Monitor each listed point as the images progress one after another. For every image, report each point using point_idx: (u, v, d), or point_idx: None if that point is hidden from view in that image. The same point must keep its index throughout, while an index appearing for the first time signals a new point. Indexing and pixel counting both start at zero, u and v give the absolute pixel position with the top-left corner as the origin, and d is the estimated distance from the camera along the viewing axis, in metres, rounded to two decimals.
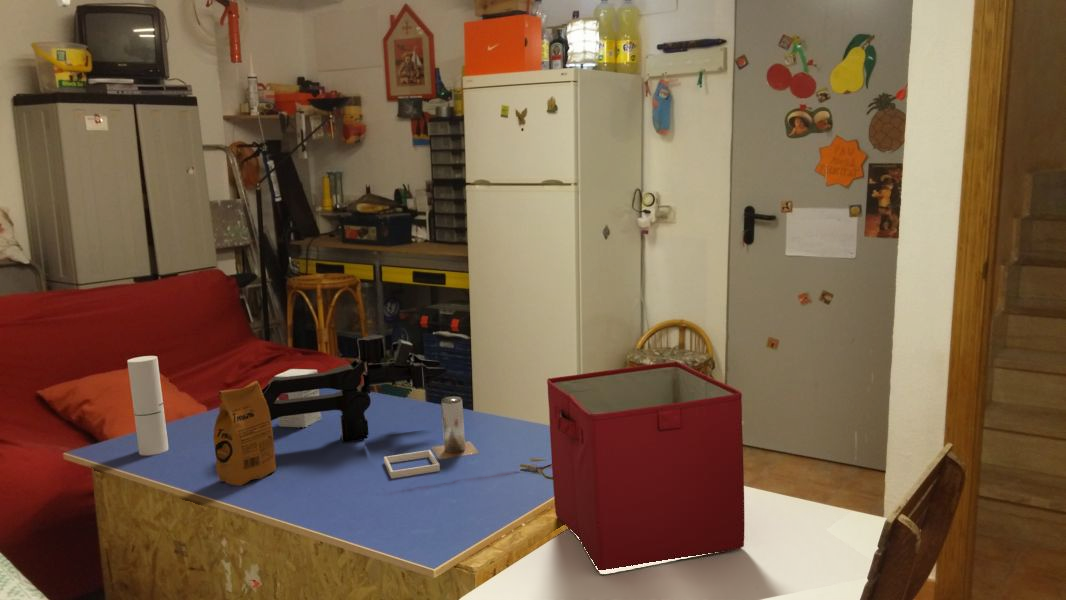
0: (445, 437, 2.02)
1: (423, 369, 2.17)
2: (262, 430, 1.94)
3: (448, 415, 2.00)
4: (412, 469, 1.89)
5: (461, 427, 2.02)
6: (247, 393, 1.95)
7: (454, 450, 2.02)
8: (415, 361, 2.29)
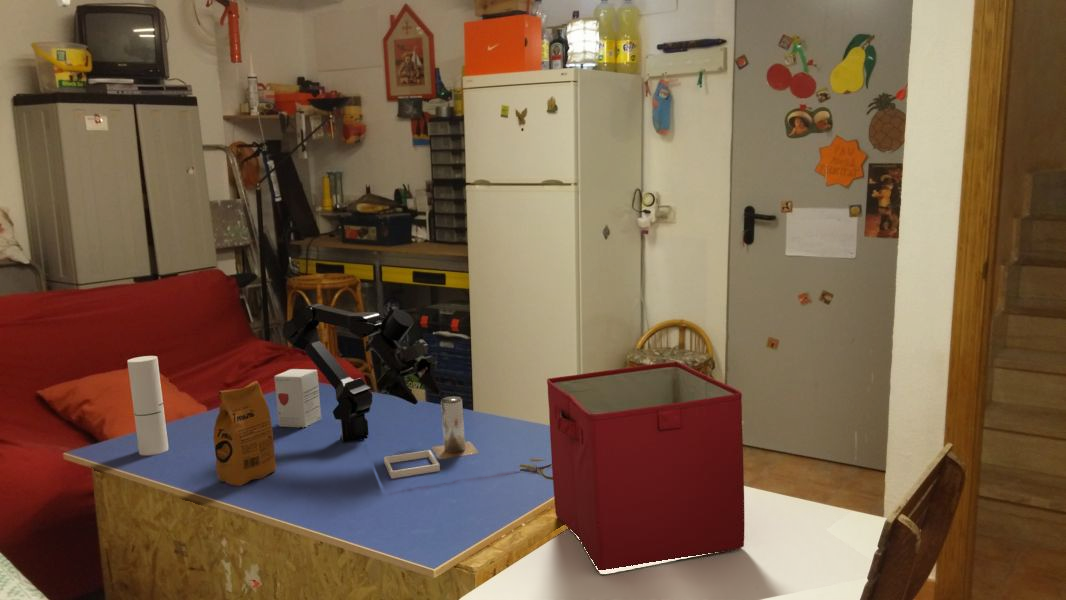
0: (445, 437, 2.02)
1: (394, 381, 2.00)
2: (262, 430, 1.94)
3: (448, 415, 2.00)
4: (412, 469, 1.89)
5: (461, 426, 2.02)
6: (247, 393, 1.95)
7: (454, 450, 2.02)
8: (426, 371, 2.12)
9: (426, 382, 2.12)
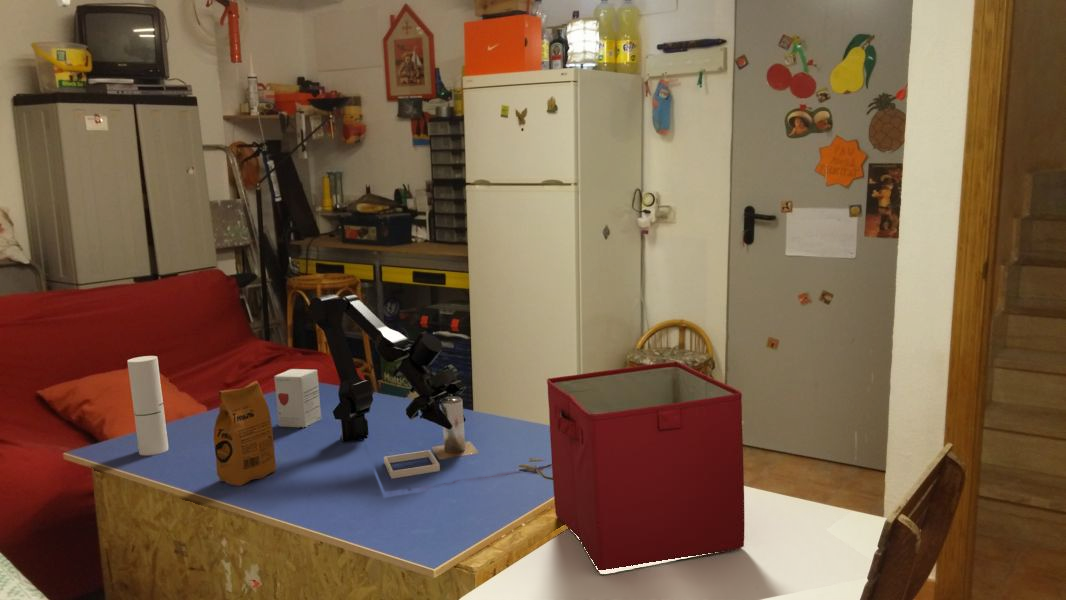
0: (445, 437, 2.02)
1: (428, 406, 1.98)
2: (262, 430, 1.94)
3: (449, 415, 2.00)
4: (412, 469, 1.89)
5: (461, 427, 2.02)
6: (247, 393, 1.95)
7: (454, 450, 2.02)
8: None
9: None
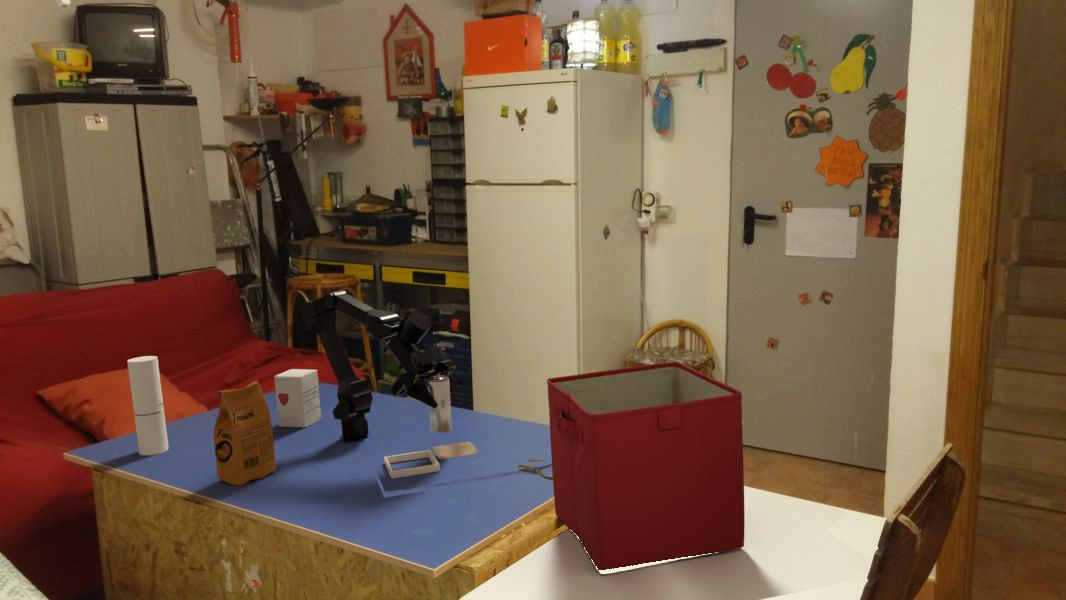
0: (431, 416, 2.00)
1: (413, 384, 1.97)
2: (262, 430, 1.94)
3: (434, 394, 1.99)
4: (412, 469, 1.89)
5: (447, 406, 2.00)
6: (247, 393, 1.95)
7: (439, 429, 2.00)
8: None
9: None
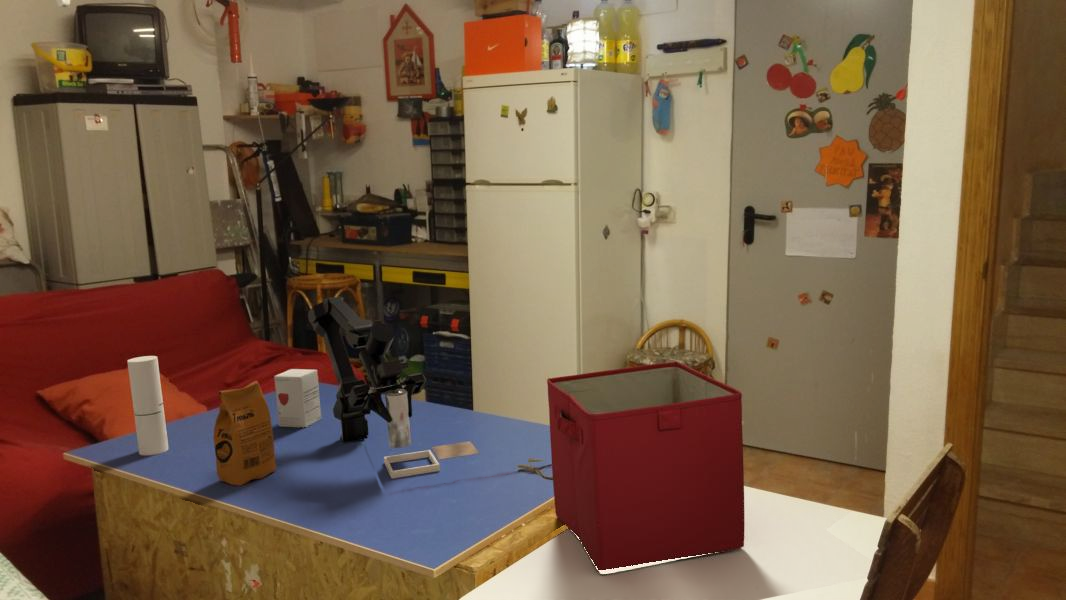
0: (388, 430, 1.97)
1: (368, 396, 1.94)
2: (262, 430, 1.94)
3: (388, 408, 1.94)
4: (412, 469, 1.89)
5: (402, 421, 1.95)
6: (247, 393, 1.95)
7: (394, 444, 1.95)
8: None
9: None
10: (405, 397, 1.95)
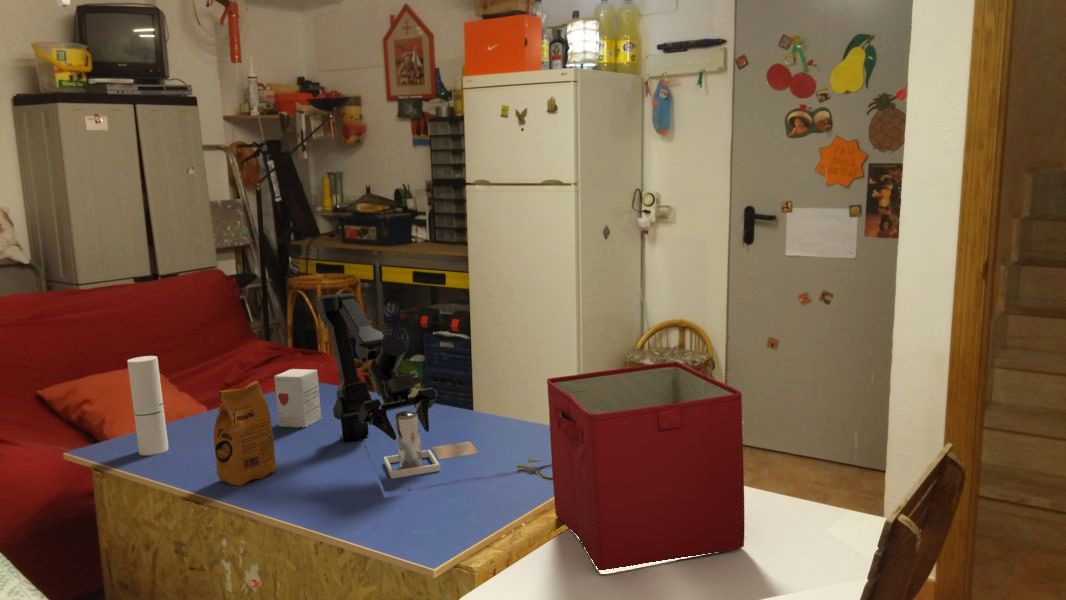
0: None
1: (373, 413, 1.90)
2: (262, 430, 1.94)
3: (399, 431, 1.90)
4: (412, 469, 1.89)
5: (413, 444, 1.91)
6: (247, 393, 1.95)
7: (405, 468, 1.92)
8: (420, 404, 1.97)
9: (419, 416, 1.97)
10: (416, 420, 1.91)
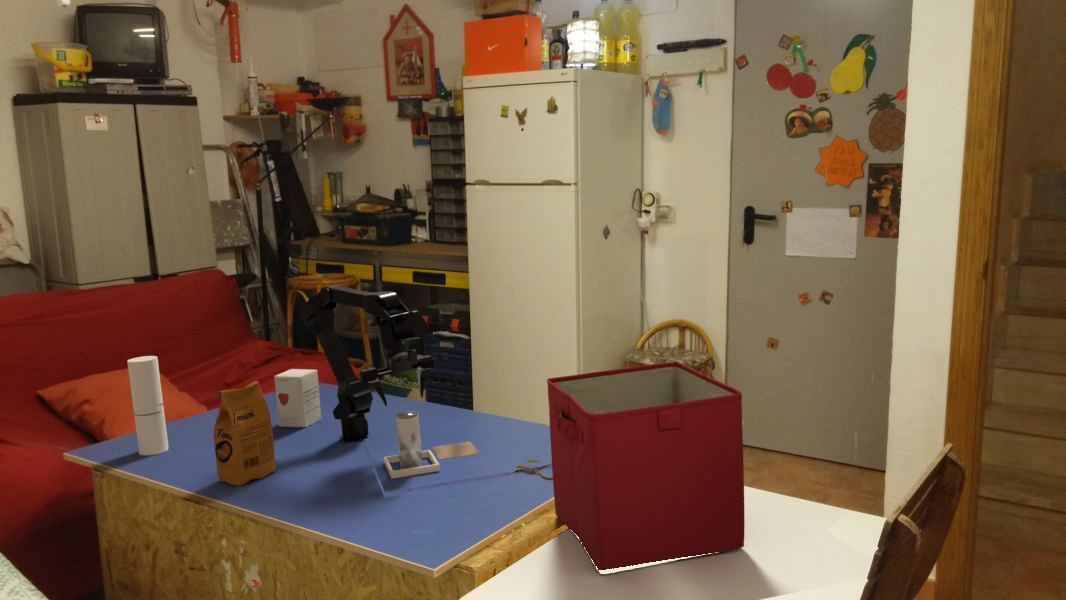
0: (399, 453, 1.93)
1: (368, 383, 2.05)
2: (262, 430, 1.94)
3: (400, 430, 1.91)
4: (412, 469, 1.89)
5: (414, 444, 1.91)
6: (247, 393, 1.95)
7: (405, 468, 1.92)
8: (419, 372, 2.10)
9: (418, 379, 2.12)
10: (416, 419, 1.91)
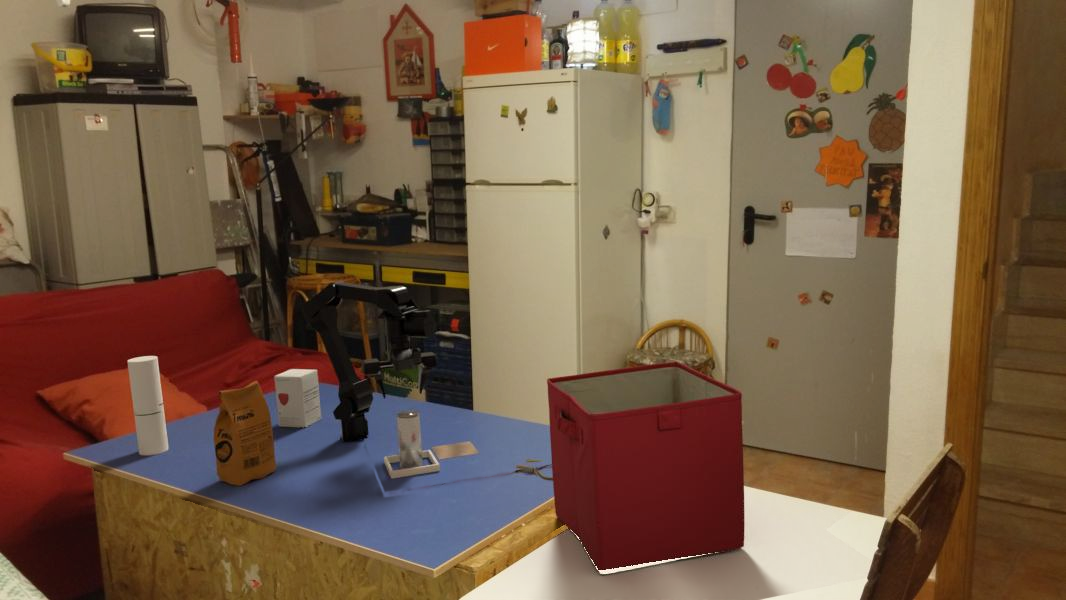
0: (399, 452, 1.93)
1: (369, 375, 2.07)
2: (262, 430, 1.94)
3: (400, 430, 1.91)
4: (412, 469, 1.89)
5: (414, 444, 1.91)
6: (247, 393, 1.95)
7: (405, 467, 1.92)
8: (421, 369, 2.11)
9: (419, 374, 2.14)
10: (417, 419, 1.92)
